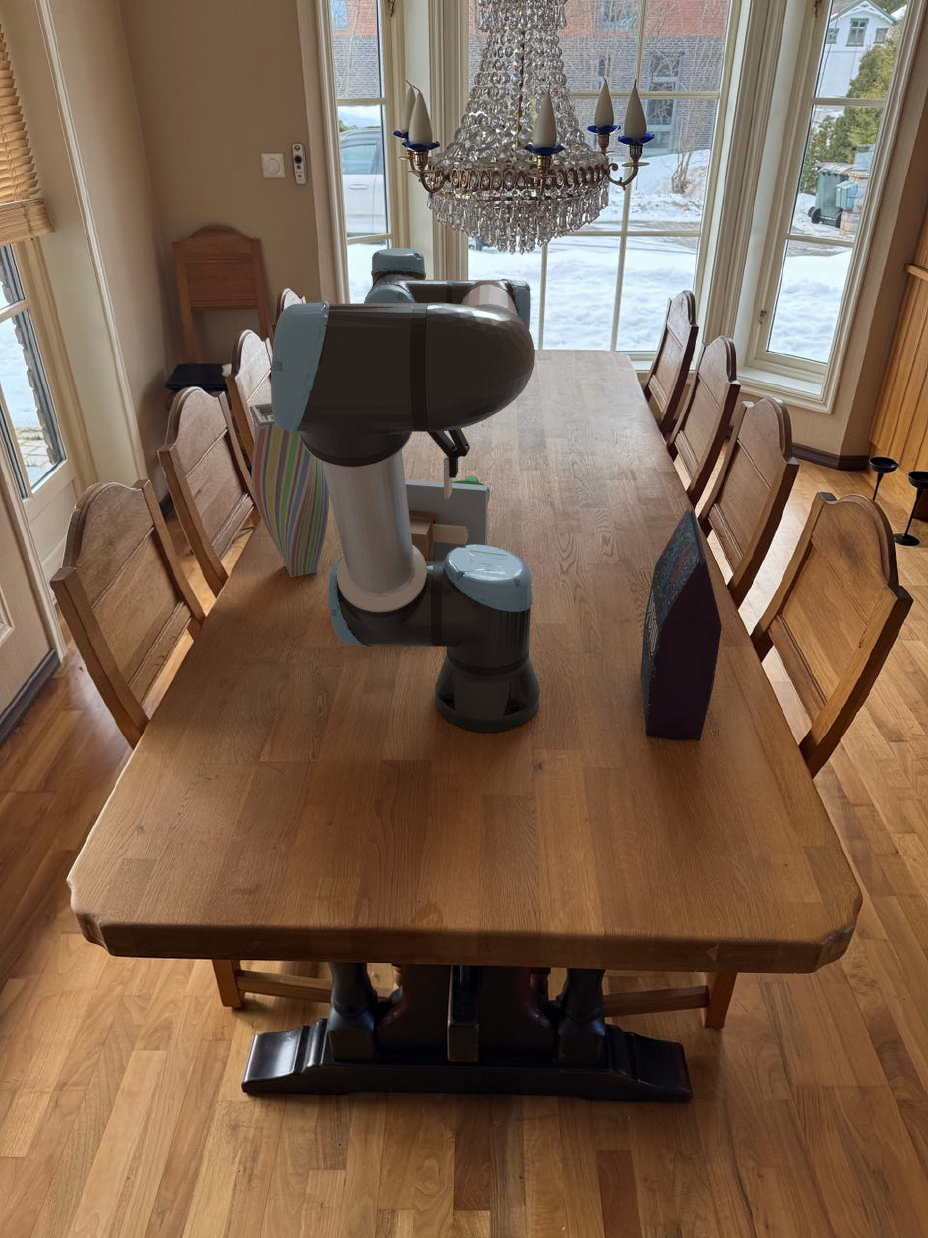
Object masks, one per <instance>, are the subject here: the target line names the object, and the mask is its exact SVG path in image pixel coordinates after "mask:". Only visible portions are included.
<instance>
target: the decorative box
mask: <svg viewBox="0 0 928 1238" xmlns="http://www.w3.org/2000/svg"><path fill="white" fill-rule="evenodd" d="M700 532H701V531H700V529H699V524H698V520H697V515H696V511H695V507H693V508H692V509H691V511H690V509H689V507H687V508H686V510H685V512H684V513H683V515H682V517H681V518H680V520H679V522H678V525H677V526H676V528H675V529H674V531H673V533H672V535H671V536H670V538H669V540H668V542H667V543H666V546H665V547H664V549H663V551H662V552H661V555H660V556H659V558H658V559H657V561H656V563H655V565H654V569H653V574H652V578H651V579H652V580H651V585H650V589H649V593H648V594H649V595H648V599H647V605H646V611H645V616H644V622H643V631H642V632H643V633H642V645H641V646H642V648H641V662H640V680H641V692H642V701H643V702H642V703H643V715H644V726H645V736H646V737H651V738H659V739H666V740H672V741H674V740H675V741H676V740H677V741H679V740H681V741H682V740H685V741H686V740H691V739H696V740H695V741H700V740H701V738H702V735H703V730H704V727H705V722H706V719H707V713H708V709H709V706H710V701H711V698H712V693H713V689H714V684H715V677H716V671H717V664H718V656H719V649H720V642H721V634H722V627H723V626H722V625H723V624H722V620H721V617H720V613H719V612H720V611H719V608H718V604H717V599H716V594H715V591H714V586H713V583H712V578H711V574H710V570H709V566H708V560H707V558H706V551H705V550H704V549H705V548H704V545H703V539H702V537H701V533H700Z"/></svg>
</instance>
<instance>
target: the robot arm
mask: <svg viewBox="0 0 928 1238" xmlns="http://www.w3.org/2000/svg"><path fill="white" fill-rule="evenodd" d="M370 275H371V277H372V279H371V281H372V286H371V289H369V291H368V292H367V293H366V294H367V295H366V296H365V298H364V301H363V302H362V303H359V302H358V303H356V302H354V303H330V301H329V300H328V299H327V300H326V299H325V300H321V301H320V302H307V303H306V302H304V303H302V302H301V303H292V304H290V305H288V306H287V307H286V308H284V309H283V311H282V312H281V313H280V314H279V318H278V320H277V323H276V327H275V332H274V338H273V344H272V353H271V368H270V369H271V372H270V374H271V375H270V394H271V395H270V398H271V399H270V401H271V402H270V403H272V413H273V419H274V423H275V425H276V426H277V427H278V428H279V429H280V430H286V431H288V432H290V433H294V432H296V431H299V433H300V437H301V440H302V442H303V444H304V446H305V448H306V449H307V451H308V452H309V453H310V454H311V455H312V456H314V457H315V458H316V459H318V460H319V461H321V462H322V465H323V469H324V473H325V477H326V482H327V486H328V490H329V500H330V502H331V503H330V504H331V507H332V511H333V514H334V515H333V516H334V519H335V524H336V528H337V532H338V536H339V541H340V545H341V550H342V553H343V556H341V559H340V560H339V561H337V562H336V563H335V564H334V565H333V566H332V568H331V570H330V573H329V579H328V587H327V588H328V589H327V598H328V600H327V601H328V608H329V609H330V620H331V625H332V627H333V629H334V632H335V634H336V636H337V637H338V638H339V640H340V641H341V642H343V643H344V644H347V645H352V646H361V647H365V648H372V647H437V648H438V647H440V648H441V647H442V648H445V647H446V656H445V658H444V661H443V663H442V666H441V669H440V671H439V674H438V676H437V679H436V682H435V685H434V703H435V707H436V709H437V712H438V713H439V715H441V717H442V718H443V719H444V720H446V721H447V722H448V723H450V724H451V725H453V726H455V727H457V728H459V729H463V730H466V731H469V732H475V733H484V734H485V733H486V734H493V733H501V732H506V731H511V730H514V729H516V728H518V727H521V726H523V725H524V724H526V723H528V721H530V720H531V719H532V718H533V717H534V716H535V715H536V713H537V710H538V709H539V705H540V685H539V682H538V679H537V676H536V674H535V673H536V672H535V670H534V667H533V664H532V661H531V658H530V642H531V641H530V637H531V614H532V609H531V608H532V605H533V603H534V595H533V590H532V589H533V584H532V583H533V581H532V572H531V570H530V568H529V567H528V565H527V564H526V563H525V561H523V559H522V558H520V557H518V556H517V555H515V554H514V553H512V552H511V551H509V550H506V549H505V548H504V549H503V548H501V547H497V546H493V545H488V544H487V545H478V544H473V545H465V546H463V548H460V547H458V548H455V549H453V550H452V551H450V552H449V553H448V555H447V557H446V558H445V560H444V561H425V560H424V557H423V556H422V554H421V552H420V551H419V550H418V549H417V548H416V547H415V546H414V545H413V544H412V537H411V528H410V519H409V510H408V501H407V492H406V483H405V479H406V475H405V467H404V458H403V457H404V455H403V449H404V448H405V447H406V445H407V444H408V442H409V441H410V439H411V436H412V434H413V433H416V432H417V433H421V432H422V433H423V432H425V433H426V432H427V434H428V435H429V436H430V438H432V441H434V443H435V444H436V445H437V446H438V447H439V448H440V450H441V451H442V452H443V453H444V454H445V457H444V458H443V482H444V498H445V499H449V497H450V495H451V493H452V481H453V479H455V478H456V477H457V475H458V474H459V458H461V457H463V458H464V457H467V455H468V453H469V452H470V449H471V446H470V444H469V442H468V440H467V438H466V436H465V434H464V432H463V430H462V429H463V428H466V427H470V426H473V425H475V424H478V423H480V422H483V421H485V420H487V419H489V418H490V417H492V416H494V415H496V414H497V413H499V412H501V411H502V410H504V409H505V408H506V407H508V406H509V405H510V404H512V403H513V402H514V401H515V400H516V399H517V398H518V397H519V396H520V395H521V394H522V393H523V391H524V390H525V389H526V388H527V385H528V383H529V381H530V380H531V377H532V376H533V371H534V367H535V359H536V357H535V356H536V353H535V352H536V350H535V344H534V341H533V337H532V334H531V332H530V328H531V326H530V325H531V300H532V299H531V287H530V285H529V282H527V281H525V280H517V279H516V280H511V279H509V278H502V279H466V280H465V279H464V280H463V279H462V280H461V279H459V280H458V279H456V280H455V279H426V278H427V273H426V268H425V256H424V255H423V253H422V252H421V251H419V250H417V249H413V248H408V247H407V248H405V247H404V248H403V247H399V248H398V247H396V248H395V247H393V248H384V249H379V250H377V251H375V252H373V254H372V257H371V271H370ZM445 432H448V434H449V435H450V437H451V438H450V437H449V436H448V434H446V433H445Z"/></svg>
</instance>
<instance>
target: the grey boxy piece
mask: <svg viewBox="0 0 928 1238" xmlns="http://www.w3.org/2000/svg"><path fill="white" fill-rule="evenodd" d="M405 483H406V492H407V501H408V510H409V511H420V512H432V513H436V524H432V525H433V554H434V557H435V561H444V560H445V558H446V557H447V555H448V553H449V552H450V551H452V550H453V549H455V548H458V547H460V548H463V546H465V545H473V544H478V545H488V519H489V518H488V516H489V515H488V514H489V513H488V507H489V502H488V488H489V486H488V485H486V484H484V485H473V484H460V483H452V493H451V495H450V497H449V499H445V498H444V481H433V480H420V479H419V480H417V479H408V478H407V479H406V478H405ZM485 485H486V486H485Z"/></svg>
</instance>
